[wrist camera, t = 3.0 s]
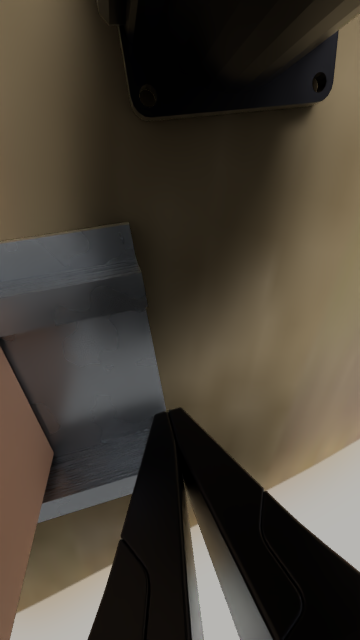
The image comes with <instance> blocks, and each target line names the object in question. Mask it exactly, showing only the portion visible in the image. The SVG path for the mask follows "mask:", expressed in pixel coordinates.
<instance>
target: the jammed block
mask: <svg viewBox="0 0 360 640" xmlns="http://www.w3.org/2000/svg"><path fill="white" fill-rule="evenodd" d="M53 455H54V452H53V450H52V448H51V446H50V444H49V442H48V440H47V438H46V436H45V434H44V432H43V430H42V428H41V426H40V424H39V422H38V420H37V418H36V416H35V414H34V412H33V410H32V408H31V406H30V404H29V402H28V400H27V398H26V396H25V394H24V392H23V390H22V388H21V386H20V384H19V382H18V380H17V379H16V377H15V375H14V373H13V371H12V369H11V367H10V365H9V363H8V361H7V359H6V357H5V355H4V353H3V351H2V349H1V347H0V640H10V636H11V632H12V628H13V623H14V619H15V615H16V611H17V607H18V602H19V598H20V594H21V590H22V585H23V581H24V577H25V573H26V569H27V564H28V560H29V556H30V552H31V548H32V543H33V539H34V535H35V531H36V527H37V522H38V518H39V514H40V510H41V505H42V501H43V497H44V493H45V489H46V484H47V480H48V476H49V472H50V468H51V463H52V459H53Z"/></svg>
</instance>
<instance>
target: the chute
mask: <svg viewBox="0 0 360 640" xmlns="http://www.w3.org/2000/svg"><path fill="white" fill-rule="evenodd" d="M146 307H148V303H147V298H146V293H145V287H144V282H143V277H142V272H141V270H140V267H139V265H138V262H137V260H136V256H135V251H134V246H133V241H132V236H131V231H130V226H129V223H128V222H123V223H117V224H110V225H103V226H97V227H90V228H84V229H77V230H70V231H64V232H57V233H51V234H44V235H38V236H31V237H24V238H18V239H11V240H5V241H0V347H1V349H2V351H3V353H4V355H5V357H6V359H7V361H8V363H9V365H10V367H11V369H12V371H13V373H14V375H15V377H16V379H17V380H18V382H19V384H20V386H21V388H22V390H23V392H24V394H25V396H26V398H27V400H28V402H29V404H30V406H31V408H32V410H33V412H34V414H35V416H36V418H37V420H38V422H39V424H40V426H41V428H42V430H43V432H44V434H45V436H46V438H47V440H48V442H49V444H50V446H51V448H52V450H53V452H54V455H53V459H52V463H51V468H50V472H49V476H48V480H47V484H46V489H45V493H44V497H43V501H42V505H41V510H40V514H39V518H38V522H37V523H40V522H43V521H46V520H49V519H52V518H56V517H59V516H62V515H65V514H68V513H72V512H75V511H78V510H81V509H84V508H88V507H91V506H94V505H97V504H100V503H104V502H107V501H110V500H113V499H117V498H120V497H123V496H126V495H129V494H132V493H133V489H134V486H135V482H136V478H137V475H138V471H139V468H140V464H141V460H142V457H143V453H144V449H145V446H146V442H147V439H148V435H149V431H150V428H151V424H152V420H153V417H154V415H155V414H156V413H160V412H164V411H166V407H165V402H164V397H163V392H162V387H161V382H160V377H159V372H158V367H157V362H156V357H155V352H154V347H153V342H152V337H151V331H150V326H149V321H148V316H147V311H146Z"/></svg>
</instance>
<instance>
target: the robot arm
mask: <svg viewBox="0 0 360 640" xmlns="http://www.w3.org/2000/svg"><path fill="white" fill-rule="evenodd" d="M96 2H97V8H98V13H99V15H100V16H101V17H102V18H103V20H104V21H105V22H106V23H107V24H108V25H109V26H117V27H118V33H119V39H120V45H121V51H122V57H123V63H124V69H125V75H126V81H127V87H128V93H129V99H130V104H131V107H132V110H133V111H134V113H135V114H136V115H137V117H139V118H140V119H142V120H144V121H158V120H168V119H179V118H190V117H200V116H211V115H221V114H232V113H243V112H253V111H264V110H275V109H285V108H296V107H306V106H311V105H314V104H316V103H318V102H320V101H323V100H324V99H325V98H326V97H327V96H328V94H329V93H330V91H331V89H332V85H333V79H334V69H335V60H336V50H337V40H338V31H339V29H341V28H342V27H343V26H344V25H346V24H347V23H348V22H350V21H351V20H352V19H354V18H355V17H356V16H358V15H359V14H360V0H96ZM313 78H315V79H316V80H317V83H318V88H317V92H315V91H314V89H313V86H312V81H313ZM143 90H149V91H150V92H151V93H152V94H153V95H154V98H155V105H154V106H152V107H147V106H145V105H144V104H143V103H142V102H141V100H140V97H139V94H140V92H141V91H143ZM183 480H184V481H183ZM184 484H185V486H184ZM185 488H186V491H187V494H188V497H189V499H190V502H191V505H192V508H193V511H194V513H195V516H196V519H197V522H198V524H199V527H200V530H201V533H202V535H203V538H204V541H205V544H206V546H207V549H208V552H209V555H210V557H211V560H212V563H213V566H214V568H215V571H216V574H217V577H218V579H219V582H220V585H221V588H222V591H223V593H224V596H225V599H226V602H227V604H228V607H229V610H230V613H231V615H232V618H233V621H234V624H235V626H236V629H237V632H238V635H239V637H240V640H360V572H359V571H358V570H357V569H355V568H354V567H353V566H352V565H350V564H349V563H348V562H347V561H345V560H344V559H343V558H342V557H341V556H339V555H338V554H337V553H336V552H334V551H333V550H332V549H331V548H329V547H328V546H327V545H326V544H324V543H323V542H322V541H321V540H320V539H319V538H317V537H316V536H315V535H314V534H313V533H311V532H310V531H309V530H308V529H307V528H305V527H304V526H303V525H302V524H301V523H300V522H298V521H297V520H296V519H295V518H294V517H293V516H292V515H291V514H290V513H289V512H288V511H287V510H286V509H285V508H284V507H282V506H281V505H280V504H279V503H278V502H277V501H276V500H275V499H274V498H273V497H272V496H271V495H270V494H269V493H268V492H267V491H264V488H263V487H262V486H261V485H260V484H259V483H258V482H257V481H256V480H255V479H254V478H253V477H252V476H251V475H250V474H249V473H248V472H246V471H245V470H244V469H243V468H242V467H241V466H240V465H239V464H238V463H237V462H236V461H235V460H234V459H233V458H232V457H231V456H230V455H229V454H228V453H227V452H226V451H225V450H224V449H223V448H222V447H221V446H220V445H219V444H218V443H217V442H216V441H215V440H214V439H213V438H212V437H211V436H210V435H209V434H208V433H207V432H206V431H205V430H204V429H203V428H202V427H201V426H200V425H199V424H198V423H197V422H196V421H195V420H194V419H193V418H192V417H191V416H190V415H189V414H188V413H187V412H185V411H184V410H183V409H182V408H181V407H179V408H175V409H171V410H169V411H168V412H167V411H164V412H160V413H156V414H155V415H154V417H153V420H152V424H151V428H150V431H149V435H148V439H147V442H146V446H145V449H144V453H143V457H142V460H141V464H140V468H139V471H138V475H137V478H136V482H135V486H134V489H133V493H132V497H131V500H130V504H129V508H128V511H127V515H126V518H125V522H124V526H123V529H122V533H121V540H120V541H119V543H118V547H117V551H116V554H115V558H114V561H113V565H112V568H111V572H110V575H109V578H108V582H107V585H106V588H105V591H104V594H103V597H102V600H101V603H100V606H99V609H98V612H97V615H96V618H95V621H94V623H93V626H92V629H91V632H90V635H89V637H88V640H204V637H203V629H202V621H201V613H200V605H199V597H198V589H197V581H196V574H195V564H194V556H193V548H192V540H191V532H190V524H189V516H188V508H187V500H186V493H185Z"/></svg>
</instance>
